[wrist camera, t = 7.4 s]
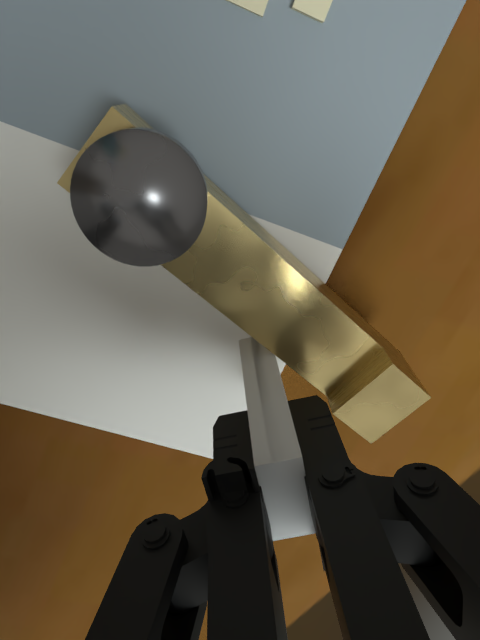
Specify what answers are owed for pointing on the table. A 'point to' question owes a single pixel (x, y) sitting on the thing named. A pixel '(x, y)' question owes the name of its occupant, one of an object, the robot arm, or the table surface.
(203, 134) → the door fixture
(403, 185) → the table surface
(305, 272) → the latch bar
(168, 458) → the table surface
